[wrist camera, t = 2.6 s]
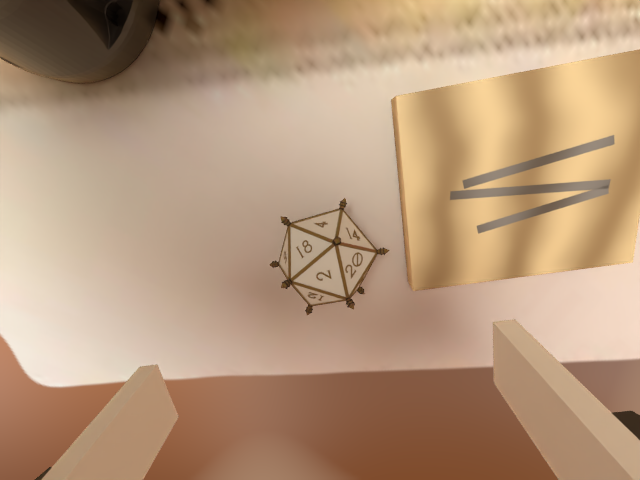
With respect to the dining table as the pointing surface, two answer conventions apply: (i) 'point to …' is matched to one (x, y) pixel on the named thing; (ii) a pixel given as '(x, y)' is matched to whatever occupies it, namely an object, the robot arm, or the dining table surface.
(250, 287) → the dining table surface
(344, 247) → the game die
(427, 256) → the board
